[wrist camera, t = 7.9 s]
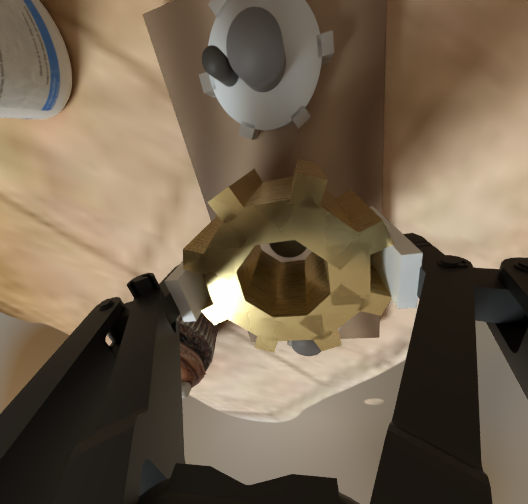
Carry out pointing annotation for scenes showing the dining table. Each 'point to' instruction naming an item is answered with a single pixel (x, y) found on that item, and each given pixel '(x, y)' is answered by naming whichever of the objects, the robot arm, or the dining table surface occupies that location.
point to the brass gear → (292, 272)
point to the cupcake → (195, 350)
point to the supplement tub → (31, 62)
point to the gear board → (280, 150)
